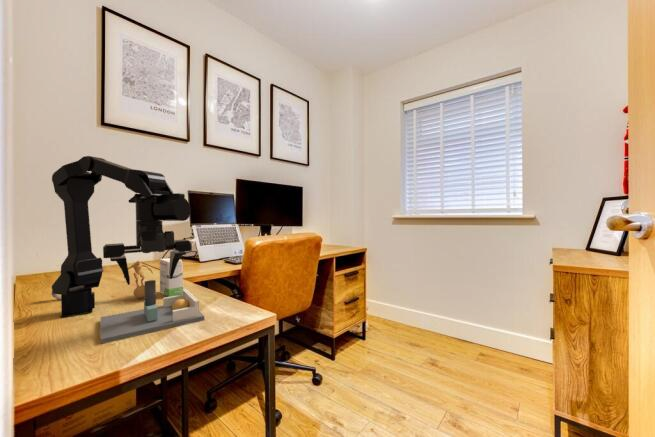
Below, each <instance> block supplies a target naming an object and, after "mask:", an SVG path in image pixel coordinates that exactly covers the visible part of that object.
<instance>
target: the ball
mask: <svg viewBox="0 0 655 437" xmlns="http://www.w3.org/2000/svg"><path fill="white" fill-rule="evenodd" d="M187 307H189V305H188V302H187V301H186V300H184V299H179V300H176V301H175V302H174V303H173V305H172V310H177V309H182V308H187Z"/></svg>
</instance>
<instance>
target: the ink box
mask: <svg viewBox="0 0 655 437" xmlns="http://www.w3.org/2000/svg"><path fill="white" fill-rule="evenodd" d="M183 264H184V263H183V260H182V259H179V261H178V263H177V266H176V269H175V271H174V274H173V277H172V279H170V277H169V266H170V257H169V258H168V257H167V258H159V293H160V294H163V295H164V296H166V297H171V296H177V295H183V291H182V290H183V289H184V274H183V273H184V272H183V270H184V268H183Z"/></svg>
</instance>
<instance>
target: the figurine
mask: <svg viewBox="0 0 655 437" xmlns="http://www.w3.org/2000/svg"><path fill="white" fill-rule="evenodd" d="M127 267H128V270H130V269H132V268H133V270H134V271H135V272H133V276H134V279H135V280H134V281H135V284H136V287H135V289H133V296H134V297H135V298H136V299H145V284H144V283H143V281H144V279H145V276H144V272H143V270H141V269H142V267H145V268H147V269H148V270H149V271H150V273H151V274H154V273H153V271H152V269H151V268H150V267H149V265H147V264H143V263H141V262H140V260H137V261H136V262H133V264H131V265H130V266H127ZM139 277H140V278H141V279H140V284H141V285H139V282H138V281H139ZM123 279H125V277H124V276H123Z"/></svg>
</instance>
